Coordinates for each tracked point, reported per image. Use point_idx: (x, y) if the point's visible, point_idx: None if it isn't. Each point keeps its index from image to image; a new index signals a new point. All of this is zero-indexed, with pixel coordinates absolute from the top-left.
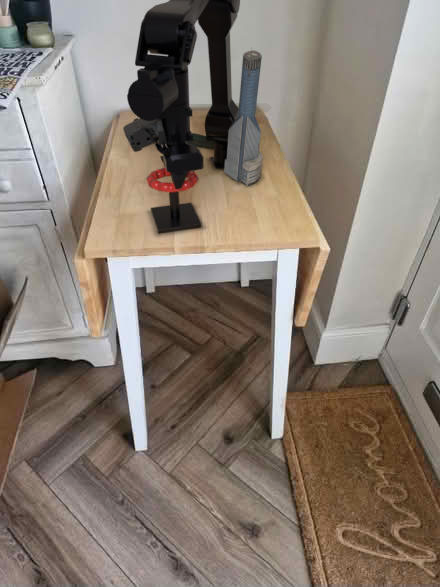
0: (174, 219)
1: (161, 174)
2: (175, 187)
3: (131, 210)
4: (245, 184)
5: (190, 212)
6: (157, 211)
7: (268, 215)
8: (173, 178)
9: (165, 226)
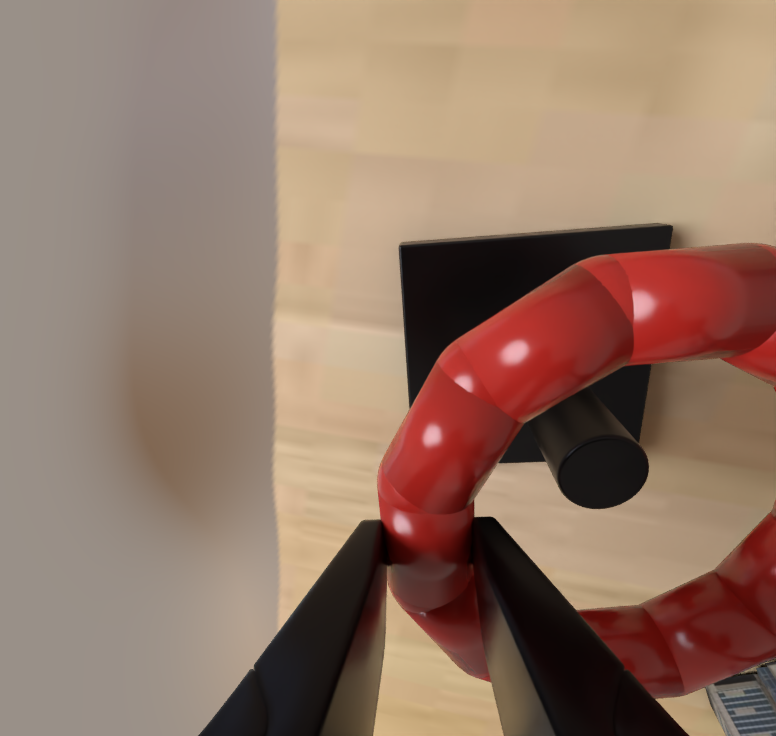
0: None
1: None
2: (352, 534)
3: (733, 82)
4: (716, 683)
5: (534, 439)
6: None
7: (447, 682)
8: (278, 632)
9: (424, 294)
